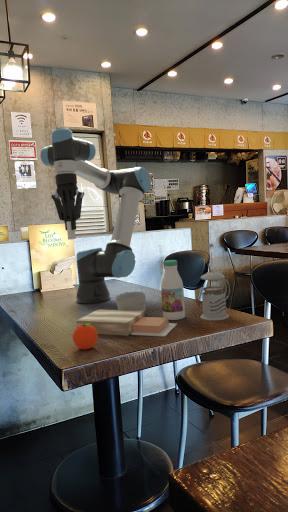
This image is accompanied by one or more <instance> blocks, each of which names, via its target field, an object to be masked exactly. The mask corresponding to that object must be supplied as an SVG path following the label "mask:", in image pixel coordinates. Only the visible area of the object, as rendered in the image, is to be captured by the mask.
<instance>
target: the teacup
mask: <svg viewBox="0 0 288 512" xmlns="http://www.w3.org/2000/svg"><path fill="white" fill-rule="evenodd" d="M115 300H116V307H117V310H130V311H146V310H147V301H146V292H144V291H125V292H124V293H120V294H118V295H116V296H115Z"/></svg>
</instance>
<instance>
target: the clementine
mask: <svg viewBox="0 0 288 512" xmlns="http://www.w3.org/2000/svg"><path fill="white" fill-rule="evenodd" d="M89 324H90V323H87V324H83V325H80V326H78V327H77V326H76V328H75V329H74V331H73V334H72V341H73V343H74V346H76V347H77V348H79V349H81V350H88V349H92V348H93V347H94V346H95V345H96V344H97V341H98V339H99V334H97V331H96V329H95V328H94V327H93V326H91V325H89ZM93 325H94V324H93ZM94 326H95V325H94ZM95 327H96V326H95Z"/></svg>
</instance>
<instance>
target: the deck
mask: <svg viewBox="0 0 288 512" xmlns="http://www.w3.org/2000/svg"><path fill="white" fill-rule="evenodd" d="M145 311H146V310H145ZM145 311H130V310H118V309H96V310H95V311H92V312H91V313H88V314H86V315H85V316H82V317H81V318H79V319H77V320H76V322H75V323H76V328H77V327H78V326H80V325H83V324H87V323H90V324H89V325H91V326H93V327H94V328H95V329H96V331H97V334H98V335H110V336H113V335H114V336H130V335H131V333H132V324H134V323H135V322H136V321H138V320H139V319H140V318H142V317H146V315H145ZM93 324H94V325H95V326H96V327H95V326H94V325H93Z"/></svg>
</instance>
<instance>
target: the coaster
mask: <svg viewBox="0 0 288 512" xmlns="http://www.w3.org/2000/svg"><path fill="white" fill-rule="evenodd" d="M169 321H170V320H168V318H163V317H161V316H160V317H158V316H157V317H154V316H145V317H142V318H140V319H139V320H138V321H136V322H135V323H134V324H132V332H147V333H160V332H161V331H162V330H163V329H164V328H166V327H167V326H168V325H169V323H170V322H169Z"/></svg>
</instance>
